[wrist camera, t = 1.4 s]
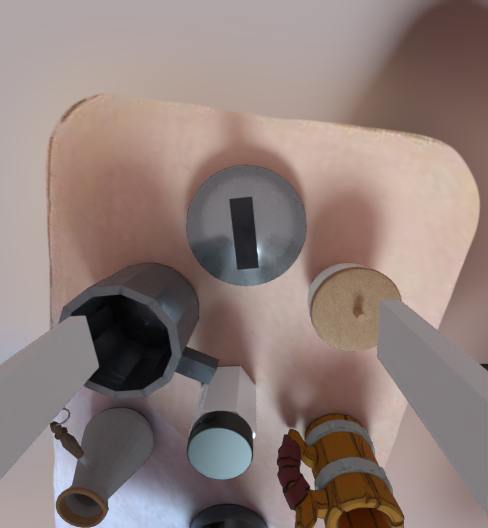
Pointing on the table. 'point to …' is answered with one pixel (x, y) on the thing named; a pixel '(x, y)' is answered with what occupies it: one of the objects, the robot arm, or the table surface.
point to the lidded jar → (349, 305)
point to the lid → (246, 225)
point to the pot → (141, 330)
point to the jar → (224, 425)
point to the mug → (337, 477)
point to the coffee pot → (102, 462)
